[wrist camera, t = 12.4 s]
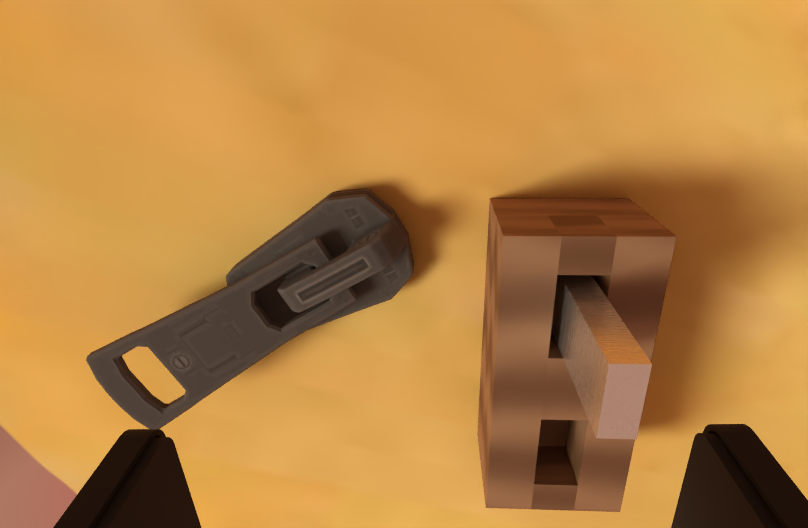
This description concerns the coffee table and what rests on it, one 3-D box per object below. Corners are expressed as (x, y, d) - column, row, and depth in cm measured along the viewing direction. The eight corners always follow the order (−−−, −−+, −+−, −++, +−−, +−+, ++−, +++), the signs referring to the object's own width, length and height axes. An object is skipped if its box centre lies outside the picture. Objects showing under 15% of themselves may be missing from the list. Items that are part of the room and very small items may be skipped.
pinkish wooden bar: (554, 263, 35) (609, 363, 24) (583, 264, 35) (652, 364, 24) (547, 321, 37) (596, 438, 26) (575, 321, 37) (636, 439, 26)
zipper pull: (69, 357, 38) (358, 194, 32) (120, 313, 44) (370, 170, 38) (150, 443, 40) (429, 308, 34) (187, 390, 47) (430, 268, 41)
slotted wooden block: (489, 198, 38) (503, 236, 31) (628, 198, 37) (676, 236, 30) (477, 434, 47) (485, 507, 39) (590, 437, 46) (619, 511, 39)
